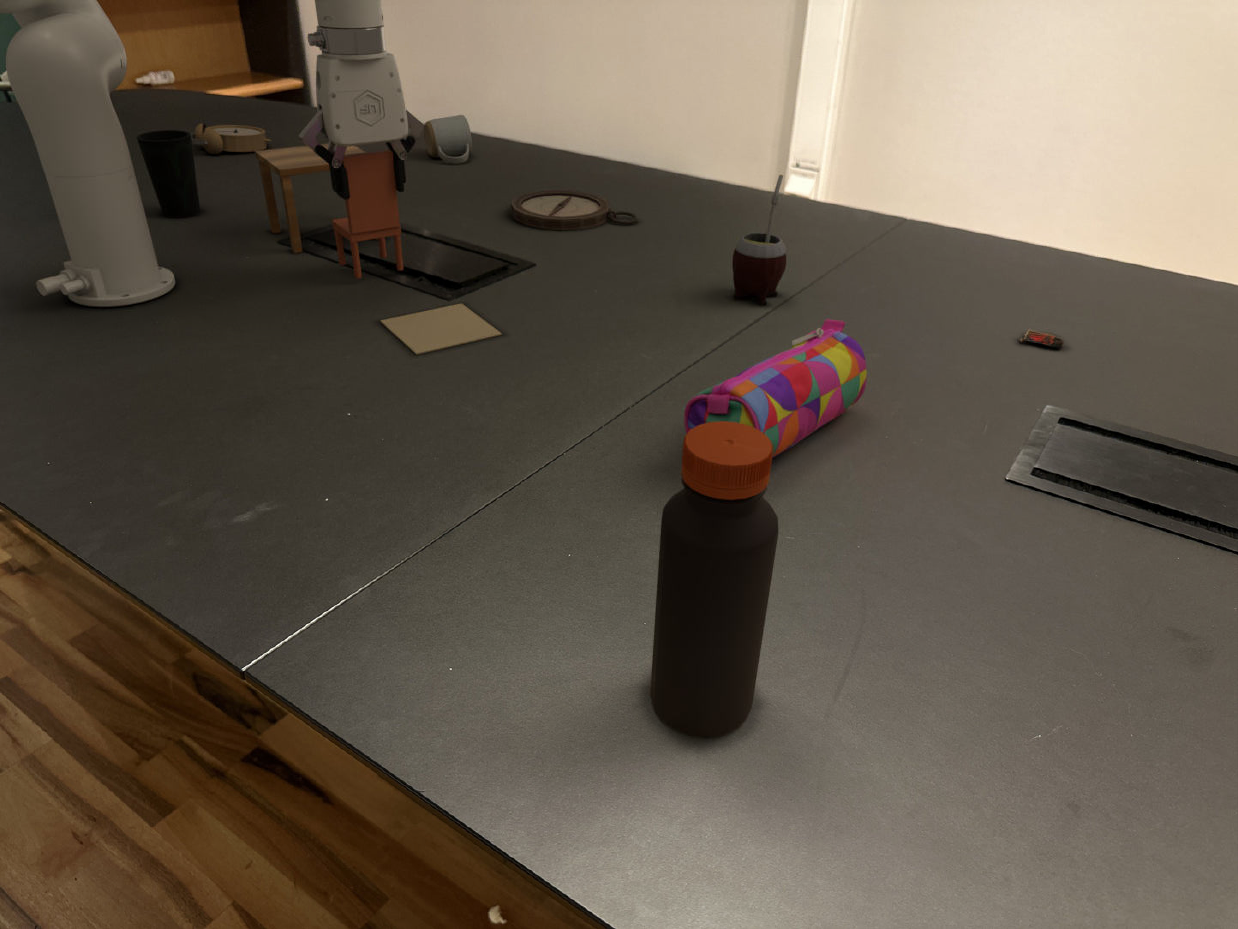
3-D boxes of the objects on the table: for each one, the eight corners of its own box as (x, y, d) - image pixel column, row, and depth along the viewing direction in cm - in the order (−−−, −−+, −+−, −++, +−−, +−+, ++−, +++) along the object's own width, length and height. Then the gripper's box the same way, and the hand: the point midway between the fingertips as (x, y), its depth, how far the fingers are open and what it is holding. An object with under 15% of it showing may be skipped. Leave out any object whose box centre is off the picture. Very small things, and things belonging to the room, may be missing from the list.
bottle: (743, 663, 63) (778, 412, 52) (759, 740, 57) (802, 476, 46) (646, 664, 62) (661, 411, 52) (652, 741, 57) (671, 475, 46)
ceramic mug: (423, 153, 182) (420, 113, 178) (462, 150, 186) (460, 111, 181) (438, 166, 175) (435, 125, 170) (479, 163, 178) (477, 122, 174)
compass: (489, 212, 150) (488, 200, 149) (560, 194, 160) (560, 183, 159) (573, 242, 138) (573, 229, 137) (644, 221, 148) (645, 209, 147)
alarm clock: (274, 135, 180) (195, 128, 171) (274, 160, 182) (195, 155, 173) (255, 124, 187) (178, 118, 178) (256, 149, 189) (179, 143, 180)
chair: (406, 270, 124) (394, 151, 115) (356, 279, 120) (340, 157, 112) (385, 255, 129) (372, 139, 120) (337, 263, 125) (321, 144, 117)
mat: (501, 334, 108) (501, 333, 108) (416, 354, 103) (416, 353, 103) (461, 304, 116) (461, 303, 116) (380, 321, 111) (380, 320, 111)
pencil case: (788, 383, 100) (799, 307, 95) (866, 411, 95) (882, 332, 90) (673, 461, 85) (679, 375, 80) (758, 498, 80) (770, 409, 75)
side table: (385, 238, 137) (376, 158, 131) (293, 253, 130) (279, 169, 124) (357, 218, 145) (347, 141, 139) (269, 231, 139) (254, 150, 132)
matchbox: (1065, 350, 109) (1066, 346, 109) (1021, 344, 110) (1022, 341, 110) (1060, 335, 113) (1061, 332, 113) (1017, 330, 114) (1018, 326, 114)
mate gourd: (740, 308, 118) (753, 193, 110) (719, 286, 124) (729, 176, 116) (792, 304, 120) (808, 190, 112) (769, 283, 126) (782, 174, 118)
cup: (215, 207, 148) (199, 131, 142) (192, 220, 142) (174, 142, 135) (171, 204, 149) (153, 128, 142) (145, 218, 142) (126, 139, 136)
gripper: (290, 50, 100) (314, 210, 110) (433, 42, 109) (444, 191, 118) (270, 41, 105) (294, 195, 115) (408, 35, 114) (421, 178, 123)
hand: (370, 191), depth 116 cm, fingers closed on chair, 6 cm apart
